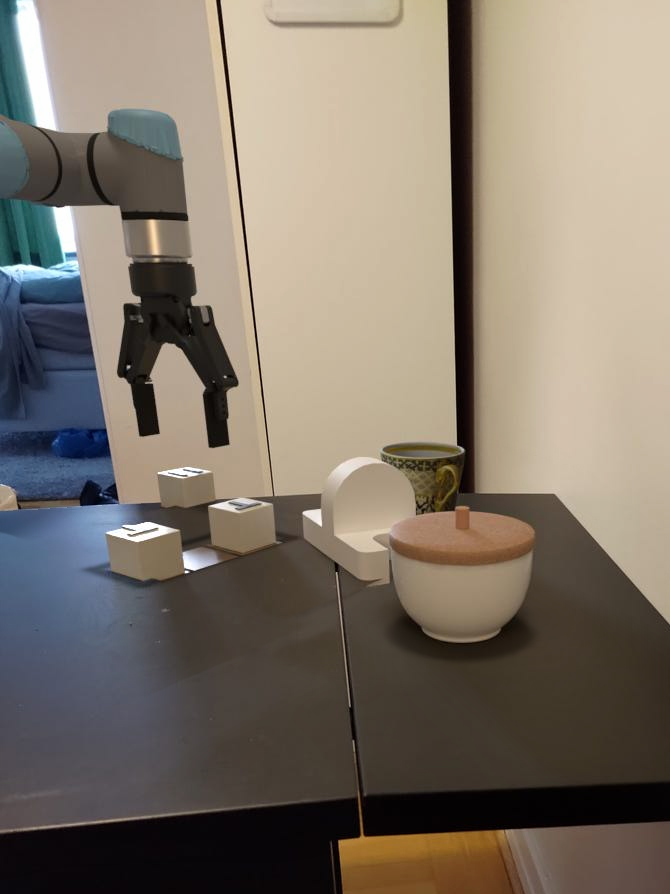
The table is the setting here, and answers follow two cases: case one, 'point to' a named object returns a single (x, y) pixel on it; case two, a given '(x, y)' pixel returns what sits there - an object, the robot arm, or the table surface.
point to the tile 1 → (146, 551)
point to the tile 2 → (242, 524)
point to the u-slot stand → (360, 516)
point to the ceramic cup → (429, 472)
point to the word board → (210, 557)
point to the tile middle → (186, 487)
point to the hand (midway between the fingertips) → (183, 440)
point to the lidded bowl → (461, 571)
